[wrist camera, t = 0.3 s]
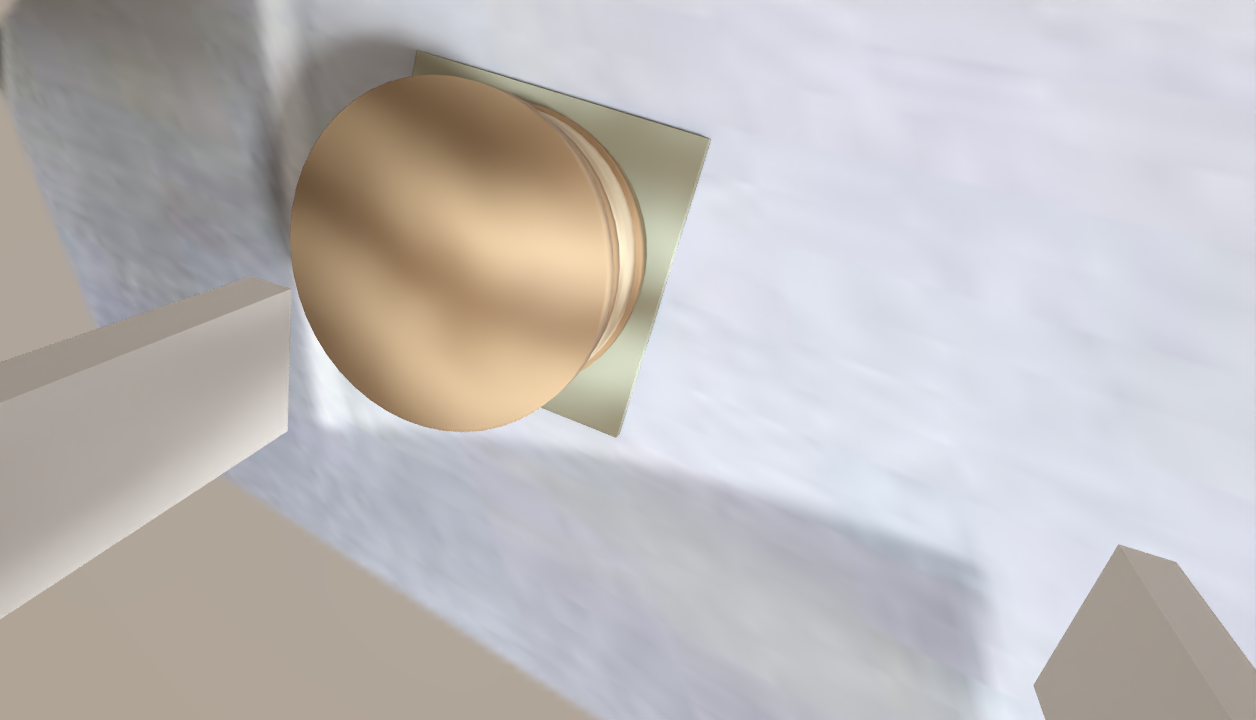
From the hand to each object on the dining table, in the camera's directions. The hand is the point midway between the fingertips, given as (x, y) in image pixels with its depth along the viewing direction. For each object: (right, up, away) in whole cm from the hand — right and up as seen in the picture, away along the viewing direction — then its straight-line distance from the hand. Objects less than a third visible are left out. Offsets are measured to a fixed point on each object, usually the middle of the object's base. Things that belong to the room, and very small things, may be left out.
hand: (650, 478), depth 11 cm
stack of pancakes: (-6, +8, +27) cm, 29 cm away
